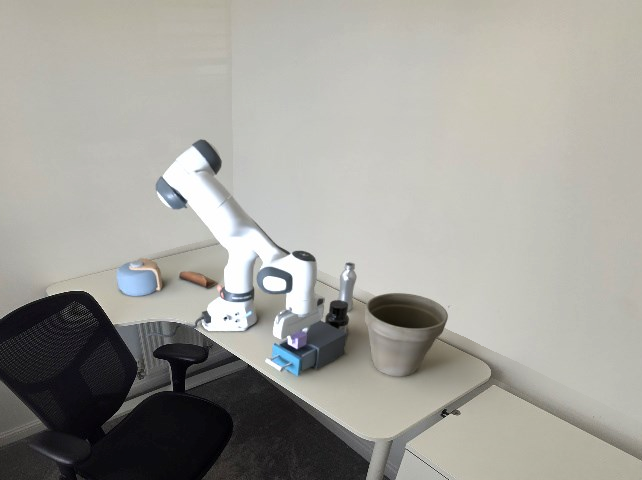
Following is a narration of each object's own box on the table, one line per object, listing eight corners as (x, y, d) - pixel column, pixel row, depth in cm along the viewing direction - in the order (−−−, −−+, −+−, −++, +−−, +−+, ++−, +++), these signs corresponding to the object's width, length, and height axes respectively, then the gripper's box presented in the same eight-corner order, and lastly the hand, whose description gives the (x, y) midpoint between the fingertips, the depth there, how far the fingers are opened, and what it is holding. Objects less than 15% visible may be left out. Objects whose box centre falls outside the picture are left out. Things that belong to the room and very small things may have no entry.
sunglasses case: (218, 282, 206) (213, 273, 201) (210, 293, 204) (204, 284, 199) (191, 272, 215) (185, 263, 210) (183, 283, 213) (176, 275, 208)
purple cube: (297, 349, 145) (298, 339, 142) (287, 343, 147) (288, 333, 145) (306, 344, 147) (307, 334, 145) (296, 339, 150) (297, 329, 147)
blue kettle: (169, 289, 202) (166, 264, 194) (128, 300, 193) (123, 275, 185) (151, 275, 214) (148, 251, 207) (112, 285, 205) (107, 260, 198)
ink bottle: (344, 340, 165) (348, 311, 158) (321, 336, 167) (324, 308, 160) (348, 327, 172) (353, 300, 165) (326, 324, 175) (330, 296, 168)
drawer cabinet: (316, 369, 150) (319, 348, 145) (288, 352, 158) (289, 332, 153) (344, 353, 157) (347, 333, 152) (315, 338, 166) (317, 318, 161)
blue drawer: (285, 383, 142) (286, 366, 138) (259, 366, 150) (260, 350, 146) (324, 361, 152) (326, 344, 148) (298, 346, 160) (300, 330, 156)
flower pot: (343, 366, 151) (351, 310, 138) (377, 338, 166) (388, 285, 153) (411, 396, 138) (428, 337, 125) (442, 362, 152) (460, 307, 139)
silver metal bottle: (352, 313, 182) (359, 267, 170) (335, 312, 183) (341, 266, 171) (352, 306, 187) (359, 261, 175) (336, 305, 188) (341, 260, 176)
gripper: (283, 317, 131) (281, 355, 139) (328, 296, 141) (324, 333, 150) (269, 309, 134) (268, 347, 143) (314, 290, 145) (310, 326, 153)
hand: (297, 340), depth 146 cm, fingers closed on purple cube, 4 cm apart
